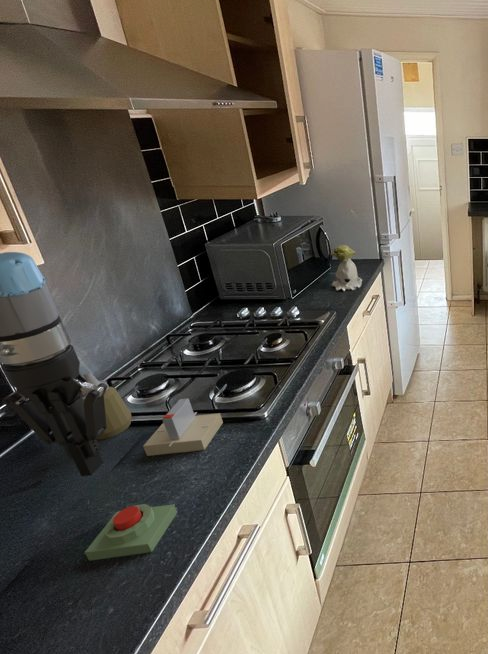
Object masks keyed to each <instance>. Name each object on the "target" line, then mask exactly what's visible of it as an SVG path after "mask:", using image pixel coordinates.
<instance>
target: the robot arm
mask: <svg viewBox="0 0 488 654" xmlns="http://www.w3.org/2000/svg"><path fill="white" fill-rule="evenodd" d="M41 272H42V271H40V269H39V266H37V263H36V262H35V260H34V258H33V257H32V256H30V255H29V254H27V253H25V252H18V251H5V252H0V364H1V367H0V369H1V370H2V372H3V374H4V376H5V378H6V380H7V382H8V384H9V385H10V386H11V387H13V388H14V389H15V391H13V392H12V393H10V394H9V395H8V396H6V397H5V398H3V399H2V400H1V401H2V402H1V403H2V404H4V405H5V406H7V407H8V408H9V409H11V410H13V411H15V413H16V414H17V415H18V416H19V417H20V418H21V419H22V420H23V421H24V422H25V424H26V425H27V426H28V427H29V428H30V429H31V430H32V431H33V433H35V434H36V436H37V437H38V438H39V439H40V440H41V441H42V442H43V443H44V444H45V445H52V444H53V443H54V444H57V445H58V446H60V447H63V450H64V451H65V453H66V456H67V457H68V458H69V459H70V460H73V462H74V464H75V466H76V468H77V470H78V472H79V474H80V476H81V477H88V476H93V474H95V472H96V471H97V470H98V469H99V468H100V467H101V466H102V465H103V464H104V461H103V459H102V457H101V455H100V453H99V452H100V451H101V446H100V444H99V442H98V439H96V438H97V437H98V436H99V435H100V434H101V433H102V432H103V431H104V430H105V429H106V428H107V426H106V415H105V404H104V393H105V391H106V389H107V385H108V384H107V385H106V384H104V383H101V384H99V385H98V386H96V385H93V384H90V383H87V380H86V378H85V377H84V376H83V374H82V373H81V372H80V364H81V361H80V359H79V357H78V354H77V352H76V350H75V347H74V345H72V344H71V341H72V340H71V338H70V336H69V334H68V332H67V330H66V327H65V325H64V323H63V321H62V319H61V317H60V314H59V311H58V309H57V306H56V305H55V302H54V300H53V297H52V296H51V295H52V294H51V293H50V290H49V288H48V285H47V282H46V277H45V276H44V275H43V274H42V273H41ZM81 392H83V395H82V393H81ZM83 400H85V401H84V404H83Z"/></svg>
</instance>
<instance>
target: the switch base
mask: <svg viewBox="0 0 488 654" xmlns="http://www.w3.org/2000/svg"><path fill="white" fill-rule="evenodd" d="M197 413H198V412H197V411H195V412H194V415H195V419H194V421H193V422H192V423H191V425H190V426H189V427H188V429H187V430H186V431H185V433H184V434H183V435H182V437H181V438H180V439H174V440H170V438H169V435H168V433H167V430H166V428H165V425H164V423H163V422H162V424H161V425H160V426H159V427H158V428H157V429H156V431H154V433H152V435H151V436H150V438H149V439H147V441H146V442H145V443H144V444H143V449H144V452H145V454H146V457H150V456H160V455H168V454H178V453H188V452H197V451H205V450H206V449H207V447H208V446H209V444H210V443H211V442H212V440H213V438H214V437H215V435H216V434H217V433H218V431H219V430H220V428H221V427H222V425H223V423H224V421H223V418H222V415H221V413H220V412H219V413H209V414H198V415H197Z"/></svg>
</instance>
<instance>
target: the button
mask: <svg viewBox="0 0 488 654" xmlns="http://www.w3.org/2000/svg"><path fill="white" fill-rule="evenodd" d="M119 511H120V512H119V513H118V514H117V515H116V516H115V517H114V519H113V523H114V525H115V527H116V529H117V530H118V531H124V530H126V529H128V528H131V527H133V526H134V525H135V524H136V523H138V522H139V521H140V519H141V517H142V514H141V512H140V510H139V508H138V507H136V506H135V505H133V506H128V507H126V508H124V509H121V510H119Z"/></svg>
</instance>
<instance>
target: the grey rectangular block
mask: <svg viewBox="0 0 488 654" xmlns="http://www.w3.org/2000/svg"><path fill="white" fill-rule="evenodd" d="M194 413H195V412H194V410H193V407H192V404H191V401H190V398H189V397H188V398H187V397H186V398H180V399H178V400H177V402H175V404H174V405H173V406H172V407H171V408H170V410H169V411H168V412H167V413H166V414H165V415H164V416H163V418H162V424H163V423H164V425H165V428H166V430H167V433H168V435H169V438H170V440H174V439H180V438H181V437H182V435H183V434H184V433H185V431H186V430H187V429H188V427H189V426H190V425H191V423H192V422H193V421H194V419H195V416H196V414H195V415H194Z"/></svg>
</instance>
